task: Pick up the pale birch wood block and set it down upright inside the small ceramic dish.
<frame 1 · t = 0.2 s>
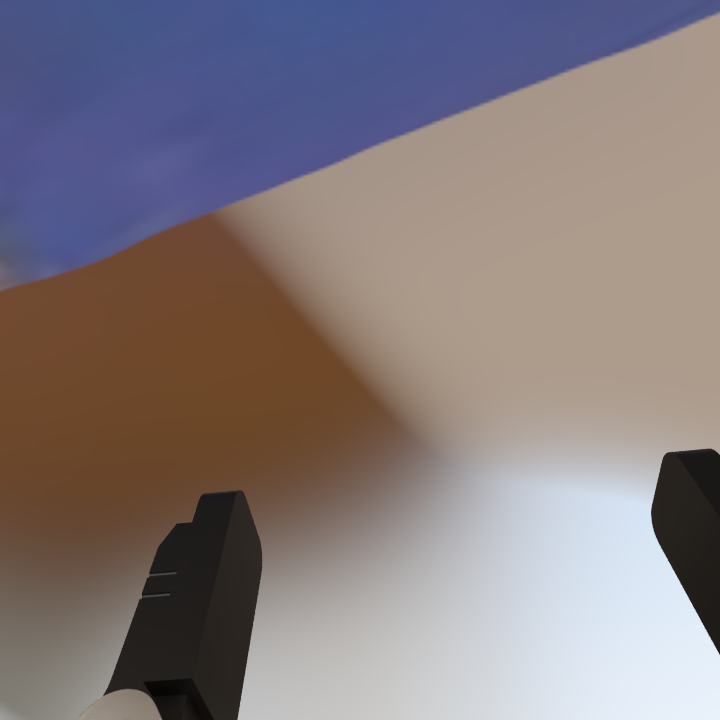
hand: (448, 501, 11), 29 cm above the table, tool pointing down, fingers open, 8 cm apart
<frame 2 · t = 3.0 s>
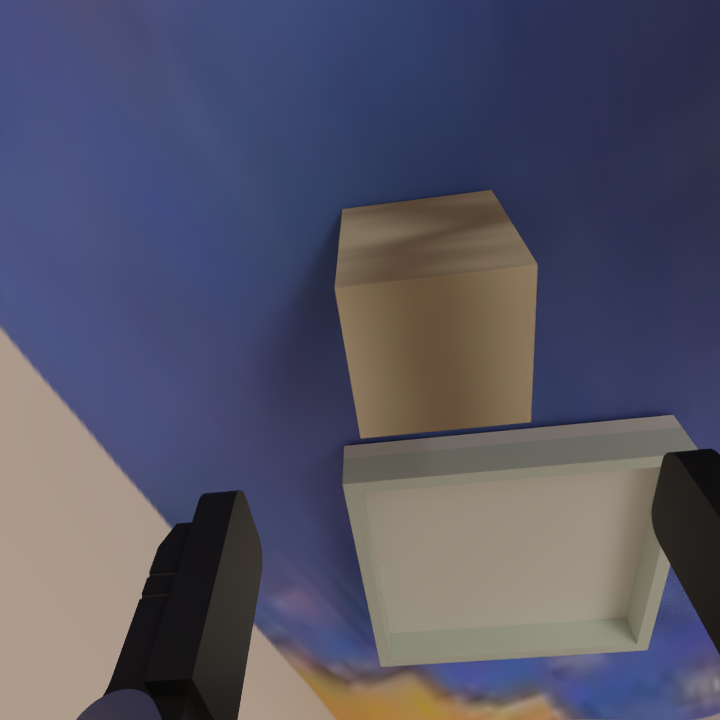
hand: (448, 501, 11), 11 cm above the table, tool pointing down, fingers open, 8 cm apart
birch block: (421, 267, 20), on the table
dish: (503, 537, 28), on the table
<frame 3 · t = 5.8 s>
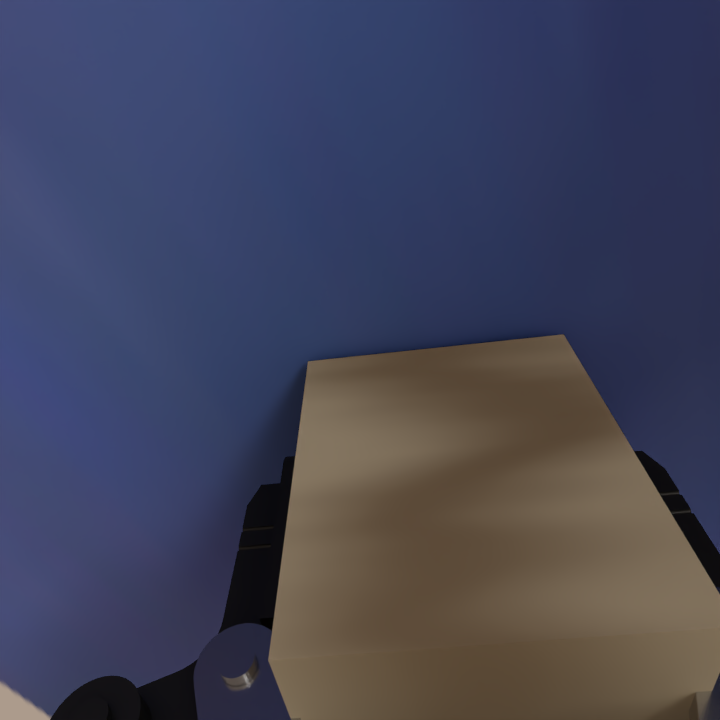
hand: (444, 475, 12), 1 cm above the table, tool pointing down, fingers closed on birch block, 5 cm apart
birch block: (439, 443, 12), on the table, touching gripper
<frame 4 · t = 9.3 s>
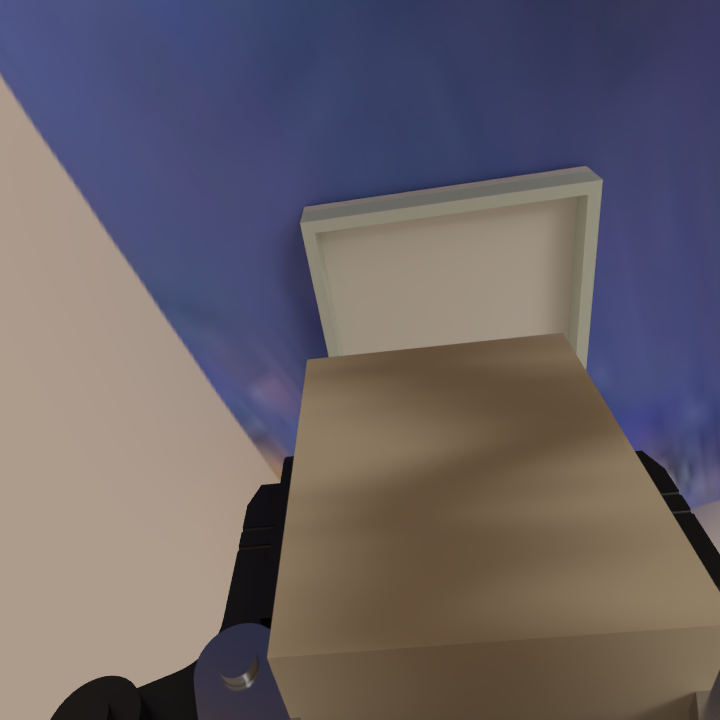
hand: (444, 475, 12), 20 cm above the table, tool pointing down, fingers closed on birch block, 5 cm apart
birch block: (439, 442, 12), point 19 cm above the table, touching gripper
dish: (450, 309, 32), on the table
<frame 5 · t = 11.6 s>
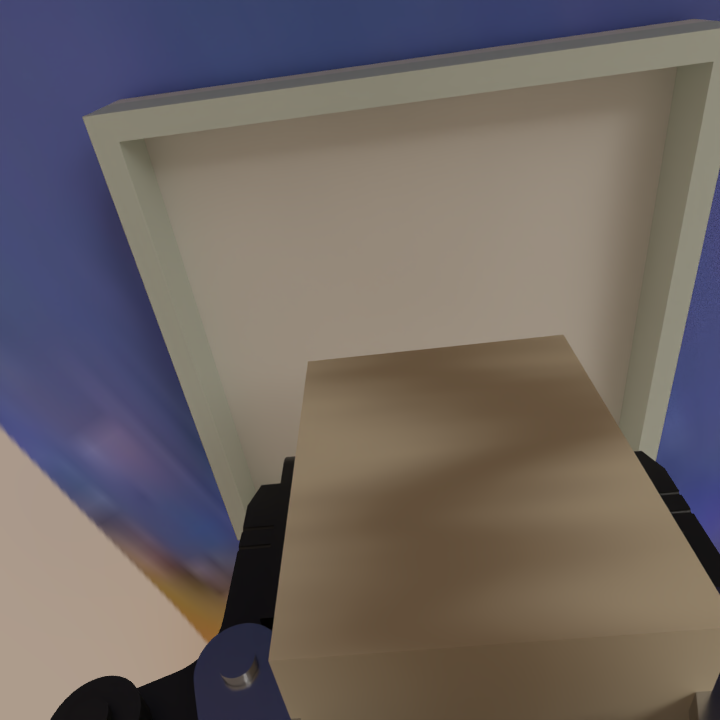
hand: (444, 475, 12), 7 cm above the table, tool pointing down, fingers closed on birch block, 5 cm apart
birch block: (439, 444, 12), point 6 cm above the table, touching gripper
dish: (417, 312, 18), on the table
when the fingers open (3 cm above the table, at t = 13.2 s): birch block drops 1 cm, resting on dish.
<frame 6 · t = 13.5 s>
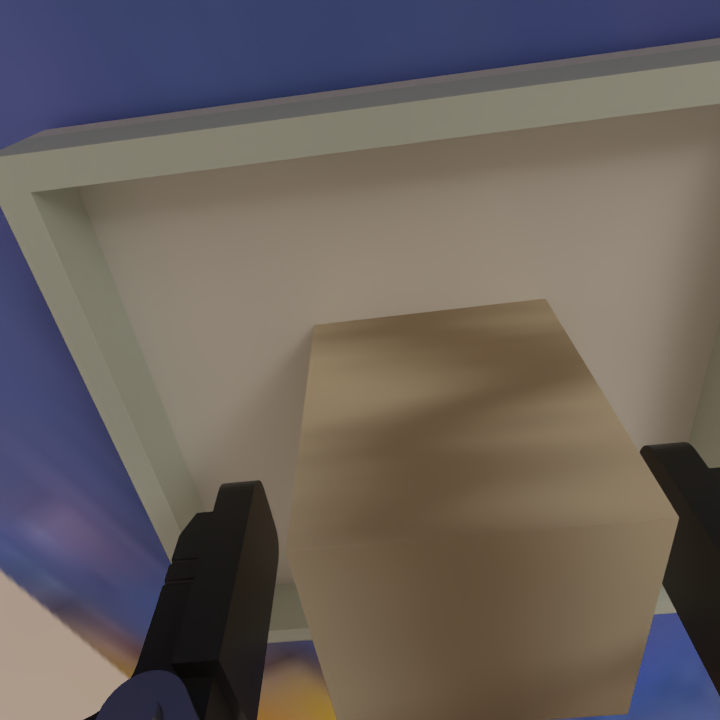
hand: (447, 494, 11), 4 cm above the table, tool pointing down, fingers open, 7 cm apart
birch block: (434, 402, 14), point 1 cm above the table, touching dish
dish: (427, 385, 14), on the table
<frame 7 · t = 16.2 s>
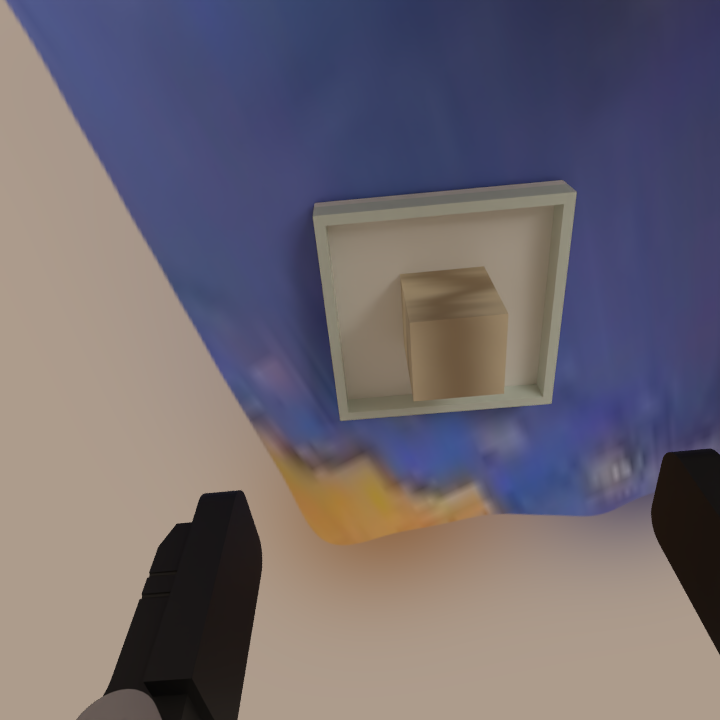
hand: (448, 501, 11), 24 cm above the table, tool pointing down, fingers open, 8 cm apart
birch block: (442, 307, 35), point 1 cm above the table, touching dish
dish: (439, 302, 36), on the table
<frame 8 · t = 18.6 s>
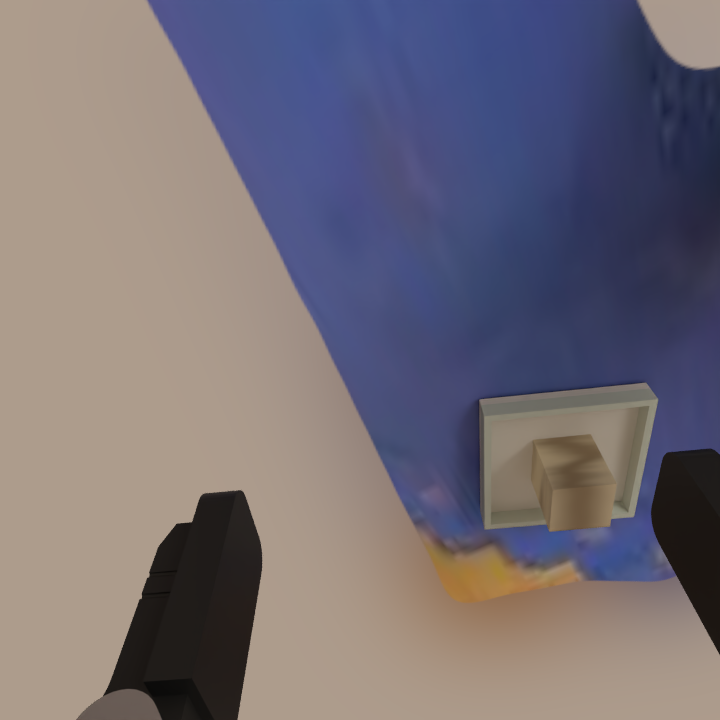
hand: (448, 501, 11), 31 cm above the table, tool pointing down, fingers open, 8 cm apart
birch block: (560, 457, 51), point 1 cm above the table, touching dish
dish: (556, 452, 52), on the table
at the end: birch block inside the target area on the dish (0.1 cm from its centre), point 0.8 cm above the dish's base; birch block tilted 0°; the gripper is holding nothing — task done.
